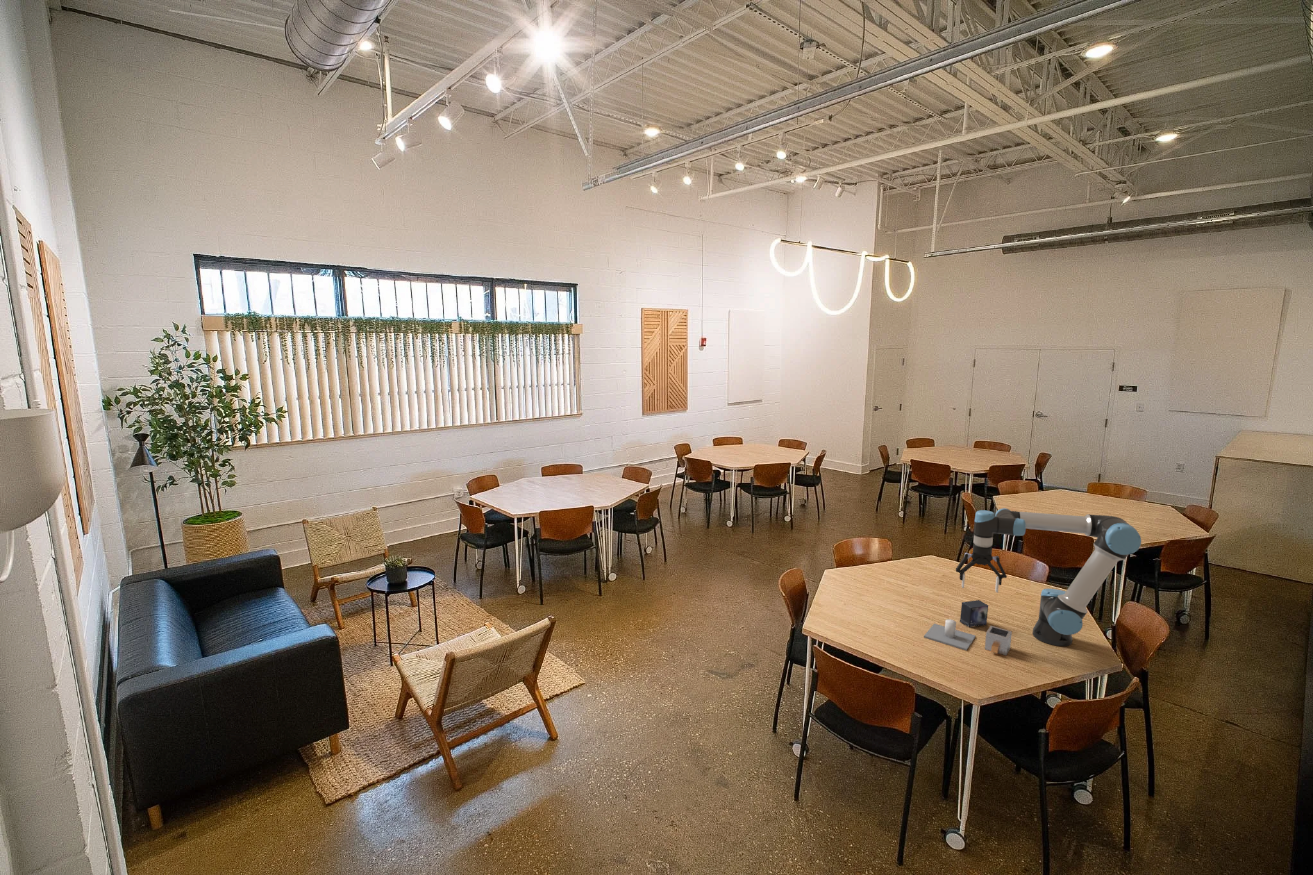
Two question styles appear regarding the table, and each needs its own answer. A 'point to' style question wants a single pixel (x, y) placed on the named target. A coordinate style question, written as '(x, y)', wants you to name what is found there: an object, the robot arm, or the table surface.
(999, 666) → the table surface
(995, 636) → the collar
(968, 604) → the small box
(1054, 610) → the robot arm
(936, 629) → the grey base with peg
